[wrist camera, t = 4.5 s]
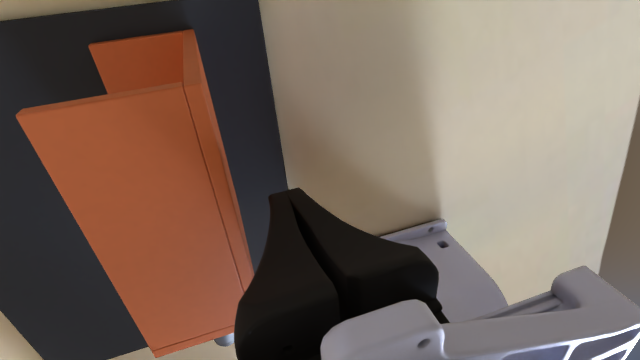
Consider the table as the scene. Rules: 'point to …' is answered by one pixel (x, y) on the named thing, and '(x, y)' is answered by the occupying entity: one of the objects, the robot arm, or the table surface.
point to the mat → (45, 199)
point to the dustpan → (152, 188)
